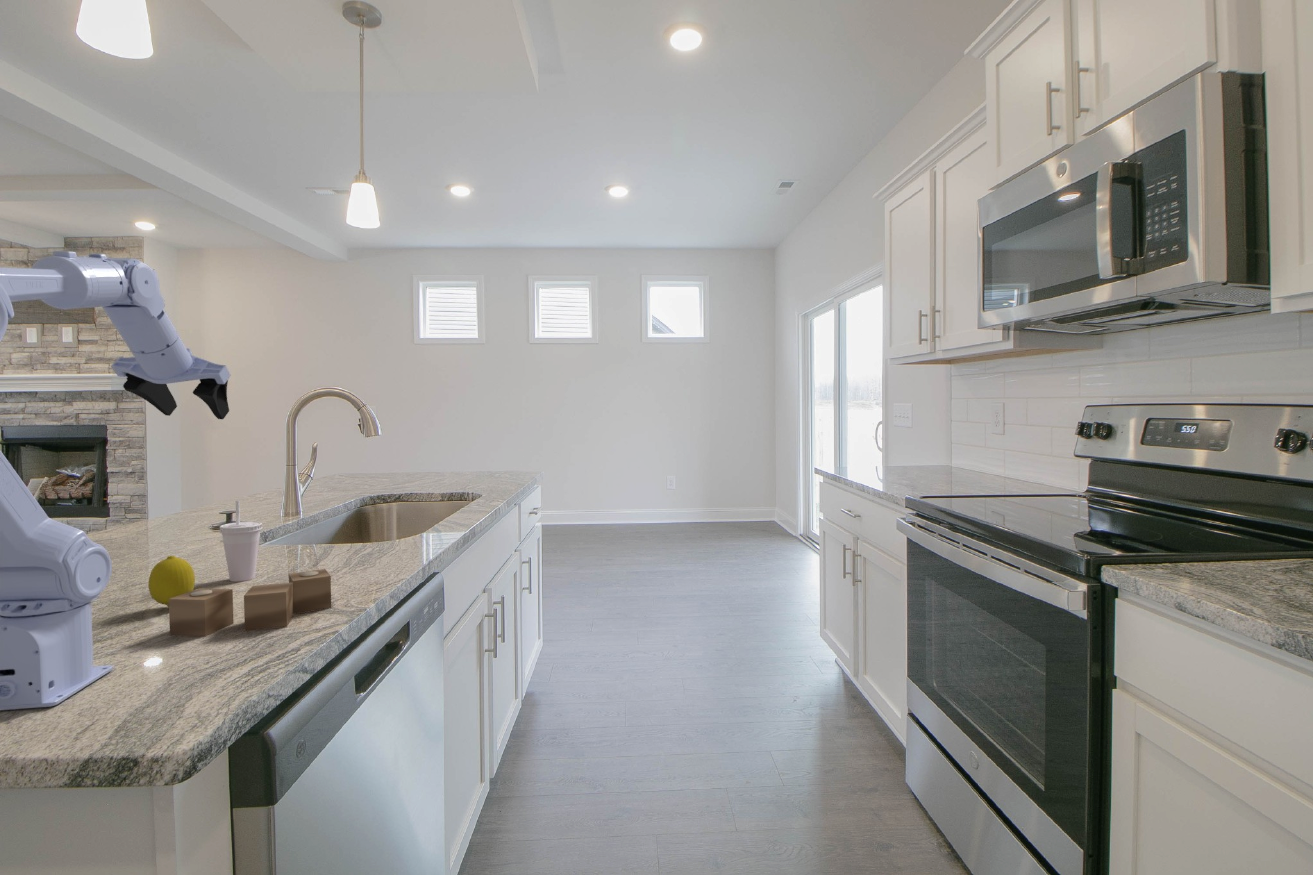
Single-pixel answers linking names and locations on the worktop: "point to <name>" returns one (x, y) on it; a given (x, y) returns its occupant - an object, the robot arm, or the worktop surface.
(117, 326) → the robot arm
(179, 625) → the dotted block
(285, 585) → the plain block
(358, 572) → the worktop surface
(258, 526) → the smoothie
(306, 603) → the dotted block
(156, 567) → the lemon
